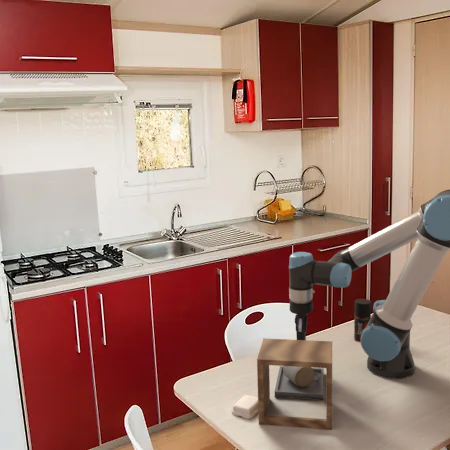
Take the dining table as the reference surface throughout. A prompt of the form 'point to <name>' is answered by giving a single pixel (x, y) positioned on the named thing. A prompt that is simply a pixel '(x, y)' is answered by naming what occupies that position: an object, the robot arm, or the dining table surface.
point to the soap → (246, 407)
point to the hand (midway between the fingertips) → (301, 366)
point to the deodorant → (361, 317)
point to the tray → (293, 391)
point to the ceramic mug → (300, 375)
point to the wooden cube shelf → (300, 357)
